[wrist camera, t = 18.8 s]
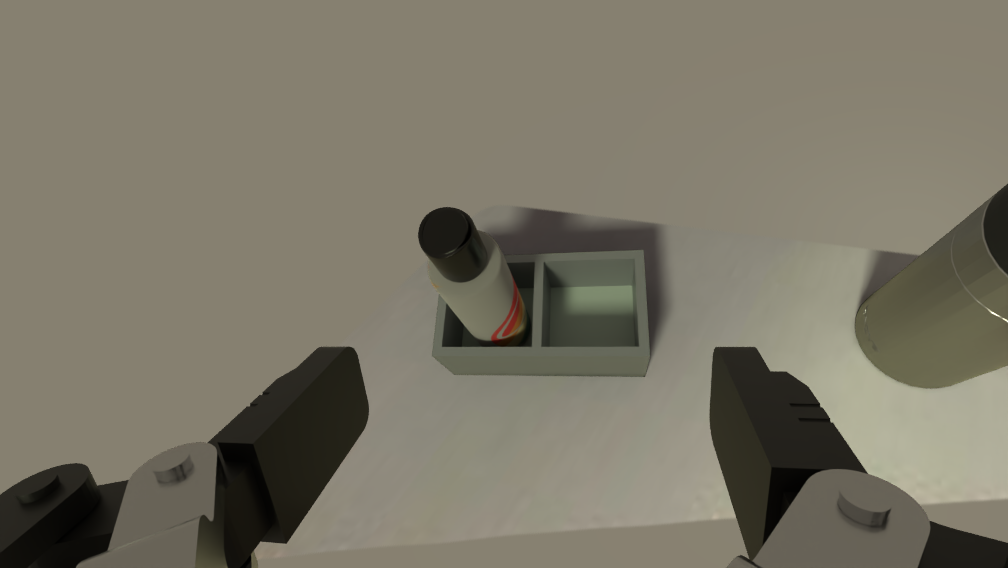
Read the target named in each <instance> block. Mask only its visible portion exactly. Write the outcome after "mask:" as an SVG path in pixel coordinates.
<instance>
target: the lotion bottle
mask: <svg viewBox="0 0 1008 568" xmlns="http://www.w3.org/2000/svg"><path fill="white" fill-rule="evenodd" d="M418 238H419V243H420V246H421V248H422V250H423V251H424V252H425V254H426V255H427V256H428V258H429V261H428V275H429V278H430V281H431V283H432V285H433V286H434V288H435V289H436V290H437V292H438V293H439V294H440V296H441V297H442V298H443V299H444V301H445V302H446V303H447V304H448V306H449V307H450V308H451V309H452V311H453V312H454V313H455V314H456V315H457V317H458V318H459V319H460V320H461V322H462V323H463V324H464V325H465V327H466V328H467V329H468V330H469V332H470V333H471V334H472V335H473V337H474V338H475V339H476V340H477V341H478V343H479V344H480V345H481V346H482V347H522V346H523V345H524V343H525V342H526V341H527V339H528V337H529V334H530V330H531V322H530V317H529V314H528V312H527V309H526V307H525V305H524V302H523V300H522V298H521V295H520V293H519V291H518V288H517V286H516V284H515V281H514V279H513V277H512V274H511V272H510V270H509V267H508V265H507V263H506V260H505V258H504V256H503V253H502V251H501V249H500V247H499V245H498V244H497V243H496V241H495V240H494V239H493V238H492V237H491V236H489V235H488V234H486V233H484V232H482V231H479V230H477V229H476V227H475V225H474V222H473V221H472V219H471V218H470V216H469V215H468V214H466V213H465V212H463V211H462V210H459V209H456V208H451V207H443V208H438V209H436V210H433V211H431V212H430V213H429V214H427V215H426V216H425V218H424V219H423V220H422V222H421V224H420V227H419V232H418Z"/></svg>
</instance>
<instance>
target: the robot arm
mask: <svg viewBox="0 0 1008 568" xmlns="http://www.w3.org/2000/svg"><path fill="white" fill-rule="evenodd" d="M855 329H856V336H857V339H858V342H859V345H860V347H861V349H862V350H863V352H864V354H865V355H866V357H867V358H868V359H869V360H870V361H871V362H872V363H873V364H874V366H876V367H877V368H878V369H879V370H881V371H882V372H883V373H885V374H886V375H888V376H890V377H891V378H893V379H895V380H897V381H899V382H902V383H905V384H908V385H910V386H915V387H921V388H942V387H947V386H952V385H954V384H957V383H960V382H963V381H965V380H968V379H971V378H974V377H977V376H979V375H983V374H985V373H988V372H991V371H994V370H997V369H999V368H1002V367H1005V366H1008V184H1007V185H1006V186H1004V187H1003V188H1002V189H1001V190H1000V191H998V192H997V193H996V194H995V195H994V196H992V197H991V198H990V199H989V200H987V201H986V202H985V203H984V204H983V205H981V206H980V207H979V208H978V209H976V210H975V211H974V212H973V213H972V214H970V215H969V216H968V217H967V218H966V219H965V220H963V221H962V222H961V223H960V224H959V225H957V226H956V227H955V228H954V229H953V230H951V231H950V232H949V233H948V234H946V235H945V236H944V237H943V238H941V239H940V240H939V241H938V242H936V243H935V244H934V245H933V246H932V247H930V248H929V249H928V250H927V251H925V252H924V253H923V254H922V255H920V256H919V257H918V258H917V259H916V260H914V261H913V262H912V263H911V264H909V265H908V266H907V267H906V268H905V269H903V270H902V271H901V272H900V273H898V274H897V275H896V276H895V277H894V278H892V279H891V280H890V281H888V282H887V283H886V284H885V285H884V286H882V287H881V288H880V289H879V290H877V291H876V292H875V293H874V294H873V295H871V296H870V297H869V298H868V299H867V300H866V301H865V302H864V303H863V304H862V306H861V307H860V309H859V311H858V314H857V316H856V323H855ZM368 415H369V404H368V399H367V395H366V390H365V386H364V381H363V377H362V373H361V368H360V364H359V359H358V355H357V353H356V351H355V350H354V349H353V348H352V347H319V348H317V349H316V350H315V351H314V352H313V353H312V354H311V355H310V356H309V357H308V358H307V359H306V360H304V361H303V362H302V363H301V364H300V365H299V366H298V367H297V368H296V369H294V370H292V371H290V372H289V373H287V374H285V375H283V376H281V377H280V378H278V379H277V380H276V381H274V382H273V383H272V384H271V385H270V386H269V387H268V388H267V389H266V390H265V391H264V392H263V395H259V396H258V397H257V398H256V399H255V400H254V401H253V402H252V403H250V407H246V408H245V409H244V410H243V411H242V412H241V413H240V414H238V415H237V416H236V417H235V418H234V419H233V420H232V421H231V422H230V423H229V424H228V425H226V426H225V427H224V428H223V429H222V430H221V431H220V432H219V433H218V434H217V435H216V436H214V437H213V438H212V439H211V440H210V441H209V442H208V443H204V442H196V443H189V444H184V445H181V446H177V447H174V448H172V449H169V450H167V451H165V452H162V453H161V454H159V455H157V456H155V457H153V458H152V459H150V460H148V461H147V462H146V463H144V464H143V465H142V466H141V467H139V468H138V469H137V470H136V471H135V472H134V473H133V475H132V476H131V478H130V479H129V480H126V481H121V482H115V483H110V484H105V485H99V486H97V485H96V482H95V480H94V478H93V476H92V474H91V472H90V470H89V468H88V467H87V466H86V465H83V464H77V463H75V464H65V465H61V466H57V467H53V468H50V469H47V470H44V471H42V472H39V473H37V474H35V475H32V476H30V477H28V478H26V479H24V480H22V481H21V482H19V483H17V484H15V485H14V486H12V487H11V488H9V489H8V490H6V491H5V492H3V493H2V494H1V495H0V568H258V562H257V558H256V556H255V553H254V549H255V548H256V547H257V545H258V544H259V543H260V541H261V542H273V543H285V544H287V542H288V541H289V539H290V538H291V536H292V535H293V533H294V532H295V530H296V529H297V528H298V526H299V525H300V523H301V522H302V520H303V519H304V517H305V516H306V514H307V513H308V511H309V510H310V508H311V507H312V505H313V504H314V503H315V501H316V500H317V498H318V497H319V495H320V494H321V492H322V491H323V489H324V488H325V486H326V485H327V483H328V482H329V481H330V479H331V478H332V476H333V475H334V473H335V472H336V470H337V469H338V467H339V466H340V464H341V463H342V461H343V460H344V459H345V457H346V456H347V454H348V453H349V451H350V450H351V448H352V447H353V445H354V444H355V442H356V441H357V439H358V438H359V436H360V435H361V434H362V432H363V431H364V429H365V427H366V424H367V420H368ZM710 429H711V436H712V441H713V445H714V448H715V451H716V454H717V457H718V460H719V464H720V467H721V470H722V473H723V476H724V480H725V483H726V486H727V489H728V492H729V496H730V499H731V502H732V505H733V508H734V511H735V515H736V518H737V521H738V524H739V527H740V531H741V534H742V537H743V540H744V543H745V547H746V549H747V553H748V556H749V559H750V560H749V559H748V558H746V557H744V556H742V555H740V556H737V557H736V558H735V559H734V560H733V561H732V562H731V563H730V564H729V565H728V566H727V568H1008V543H1006V542H1002V541H998V540H994V539H991V538H987V537H983V536H979V535H975V534H972V533H968V532H964V531H960V530H956V529H953V528H949V527H946V526H943V525H939V524H937V523H934V522H932V521H929V519H928V517H927V515H926V513H925V511H924V510H923V509H922V507H921V506H920V505H919V504H918V503H917V502H916V501H915V500H914V499H913V498H912V497H911V496H910V495H908V494H907V493H906V492H904V491H903V490H901V489H900V488H898V487H897V486H895V485H893V484H891V483H889V482H887V481H885V480H883V479H880V478H878V477H875V476H872V475H870V474H868V473H867V472H866V470H865V469H864V467H863V466H862V464H861V463H860V462H859V460H858V459H857V457H856V456H855V454H854V453H853V451H852V450H851V448H850V447H849V445H848V444H847V443H846V441H845V440H844V438H843V437H842V435H841V434H840V432H839V431H838V429H837V428H836V427H835V425H834V424H833V423H831V422H830V418H829V416H828V415H827V413H826V412H825V410H824V409H823V408H822V407H820V403H819V402H818V400H817V399H816V397H815V396H814V394H813V393H812V392H811V390H810V389H809V387H808V386H807V385H805V384H804V383H802V382H801V381H799V380H798V379H796V378H795V377H793V376H792V375H790V374H789V373H788V372H770V370H769V369H768V367H767V365H766V363H765V362H764V360H763V358H762V357H761V355H760V353H759V352H758V350H757V349H756V348H755V347H716V348H715V349H714V353H713V362H712V379H711V397H710Z"/></svg>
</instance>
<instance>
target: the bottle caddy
mask: <svg viewBox="0 0 1008 568" xmlns="http://www.w3.org/2000/svg"><path fill="white" fill-rule="evenodd" d="M503 256H504V258H505V260H506V263H507V265H508V267H509V270H510V272H511V274H512V277H513V279H514V281H515V284H516V286H517V288H518V291H519V293H520V295H521V298H522V300H523V302H524V305H525V307H526V309H527V312H528V314H529V317H530V322H531V330H530V334H529V337H528V339H527V341H526V342H525V343H524V345H523V346H522V347H482V346H481V345H480V344H479V343H478V341H477V340H476V339H475V338H474V337H473V335H472V334H471V333H470V332H469V330H468V329H467V328H466V327H465V325H464V324H463V323H462V322H461V320H460V319H459V318H458V317H457V315H456V314H455V313H454V312H453V311H452V309H451V308H450V307H449V306H448V304H447V303H446V302H445V301H444V299H443V298H442V297H441V296H440V294H439V299H438V307H437V316H436V325H435V333H434V342H433V351H432V356H433V357H434V358H435V359H436V360H437V361H439V362H440V363H441V364H442V365H443V366H445V367H446V368H447V369H448V370H449V371H450V372H452V373H453V374H454V375H523V376H624V377H645V374H646V370H647V366H648V362H649V358H650V347H649V331H648V315H647V298H646V282H645V266H644V250H628V251H601V252H575V253H549V254H523V255H503Z"/></svg>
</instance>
